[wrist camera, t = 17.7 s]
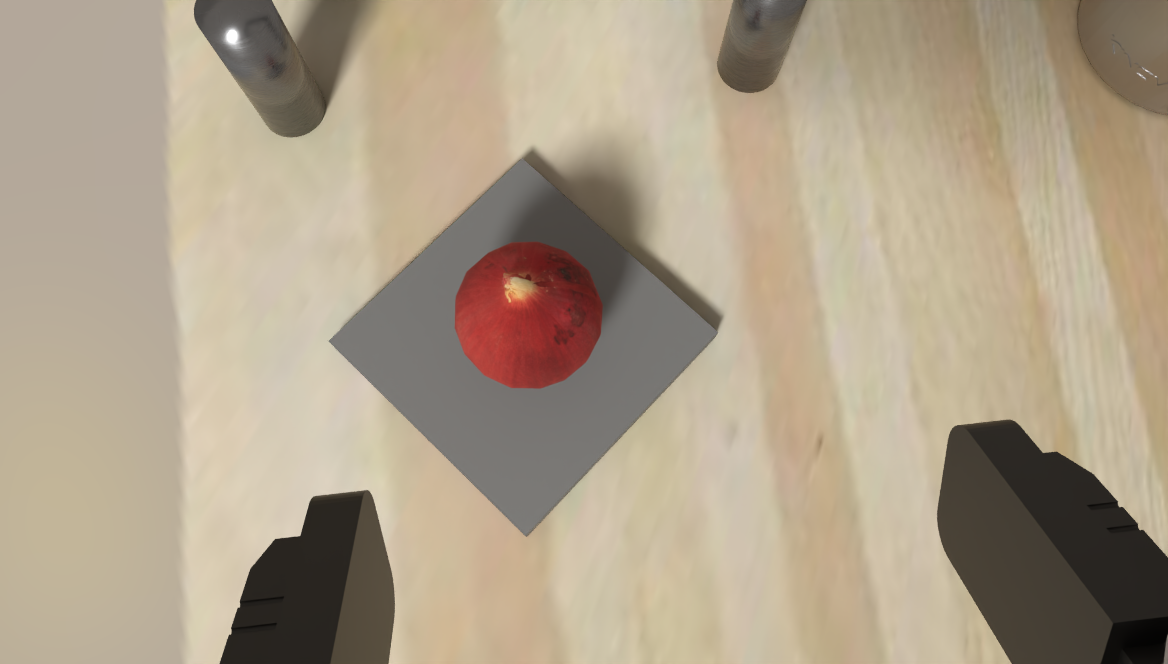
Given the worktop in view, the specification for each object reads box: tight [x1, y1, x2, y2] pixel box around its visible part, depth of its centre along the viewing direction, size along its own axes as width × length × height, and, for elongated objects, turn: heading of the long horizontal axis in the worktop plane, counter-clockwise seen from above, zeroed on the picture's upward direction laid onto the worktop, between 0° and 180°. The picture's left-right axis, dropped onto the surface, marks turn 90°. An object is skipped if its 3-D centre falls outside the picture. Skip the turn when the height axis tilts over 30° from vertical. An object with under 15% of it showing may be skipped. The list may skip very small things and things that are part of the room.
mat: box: [329, 158, 718, 537], centre depth 40 cm, size 12×12×1 cm
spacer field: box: [194, 0, 807, 137], centre depth 41 cm, size 20×22×8 cm
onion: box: [455, 242, 603, 389], centre depth 36 cm, size 6×6×8 cm
